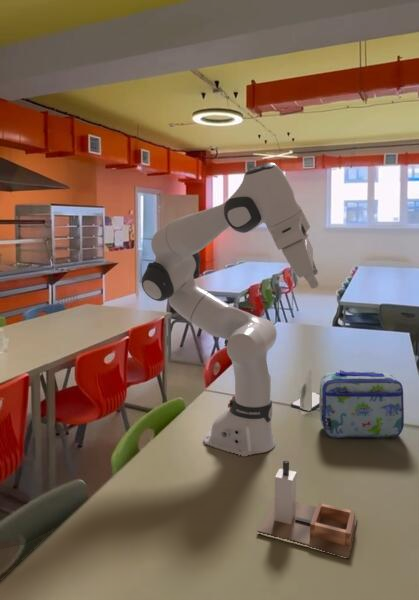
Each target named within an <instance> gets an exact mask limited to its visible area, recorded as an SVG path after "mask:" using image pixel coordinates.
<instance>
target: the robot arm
mask: <svg viewBox="0 0 419 600" xmlns="http://www.w3.org/2000/svg"><path fill="white" fill-rule="evenodd" d="M262 224H264V225H266V228H267V230H268V231H269V234H270V235H271V237H272V239H273V243H274V244H275V246H276V248H277V249H278V251H280V250H281V252H282V254H283V255H284V257H285V259H286V260H287V261H286V262H287V263H288V264H289V266H290V267H291V269H292V271H293V272H294V273H295V275H296V276H297V277H298V278H304V279H305V281H306V282H307V283H308V284H309V287H310V288H311V289H315V288H316V289H317V288H318V287H319V281H318V280H317V277H316V275H318V272H319V270H318V269H317V266H316V264H315V261H314V250H313V246H312V244H311V242H310V240H309V238H308V237H309V234H308V231H309V230H310V228H311V225H310V224H309V221H308V219H307V217H306V215H305V214H304V211H303V209H302V207H301V205H299V204H298V203H297V201H296V198H295V194H294V191H293V189H292V187H291V184H290V182H289V181H288V179H287V177H286V175H285V174H284V172H283V171H282V169H281V168H280V167H279V166H278V165H277V164H276V163H274V162H265V163H262V164H258V165H257V166H254V167H251V168H250V169H248V170H247V171H246V172H245V173H244V175H243V180H242V182H241V184H239V187H238V188H237V189H236V191H235V192H234V193H232V195H230V197H229V198H228V199H227V200H226V201H225V202H223V203H222V204H219V205H216V206H213V207H211V208H210V207H209V208H207V209H204V210H203V209H202V210H201V211H197V212H193V213H190V214H186V215H184V216H181V217H178V218H175V219H174V220H172V221H170V222H168V223H166V224H164V226H162V227H161V228H160V229H159V230H157V231H156V233H154V234H153V236H152V239H151V244H150V245H151V250H152V252H153V254H154V256H155V259H154V260H153V262H148V264H147V266H146V270H145V272H144V273H143V275H142V277H141V287H142V290H143V292H144V293H145V294H146V296H148V297H149V298H150V299H151V300H154V301H157V302H163V301H165V300H168V303H169V305H170V307H171V308H172V309H173V310H174V311H175V312H176V313H177V314H178V315H180V316H181V317H182V318H183V319H185V320H186V321H188V322H189V323H191V324H192V325H193V326H195V327H197V328H198V329H200V330H202V331H203V332H205V333H207V334H208V335H210V336H212V337H216V338H221V339H224V340H226V341H227V343H226V353H227V356H228V357H229V359H230V360H231V363H232V364H231V365H232V369H233V374H234V395H232V397H231V399H230V400H229V402H228V403H227V408H228V409H227V410H226V411H224V412H223V413H221V414H219V415H218V416H217V417H216V418H215V419H214V421H213V423H212V426H211V429H209V430H208V431H207V432H206V434H205V435H204V438H203V443H204V442H205V443H204V445H206V444H208V445H207V446H209V445H210V446H209V447H212V446H213V447H212V448H216V449H218V450H221V451H224V452H228V453H230V452H231V454H233V453H235V454H234V455H236V454H238V455H237V456H240V455H241V456H240V457H248V455H249V456H252V455H256V454H257V455H258V454H262V453H266V452H269V451H271V450H272V449H274V448H275V447H276V441H275V437H274V433H273V427H272V425H273V424H272V418H273V400H272V399H271V398H272V397H271V396H272V395H271V393H272V391H271V390H272V386H271V385H272V377H271V374H270V372H269V367H268V361H267V356H268V353H269V351H270V350H271V349H272V348H273V347H274V345H275V343H276V340H277V337H278V336H277V335H278V332H277V329H276V325H275V324H274V323H273V322H272V321H271V320H269V319H267V318H263V317H259V316H257V315H254V314H252V313H251V312H248V311H244V310H242V309H240V308H237V307H234V305H233V306H232V305H231V304H229V303H227V302H226V301H224V300H222V299H220V298H218V296H216V295H214V294H212V293H210V292H208V291H207V290H205V289H203V288H201V287H200V286H198V284H197V283H196V281H195V279H198V278H199V277H200V267H201V261H202V259H201V256H200V253H199V252H200V251H202V250H203V249H204V248H206V247H207V246H208V245H209V244H211V243H212V242H213V241H214V240H215V239H216V238H218V236H220V235H221V234H222V233H223V232H224V231H226V230H227V229H229V228H232V229H233V230H234V231H235V232H238V233H243V234H245V233H249V232H251V231H254V230H255V229H256V228H258V227H259V226H260V225H262Z"/></svg>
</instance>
